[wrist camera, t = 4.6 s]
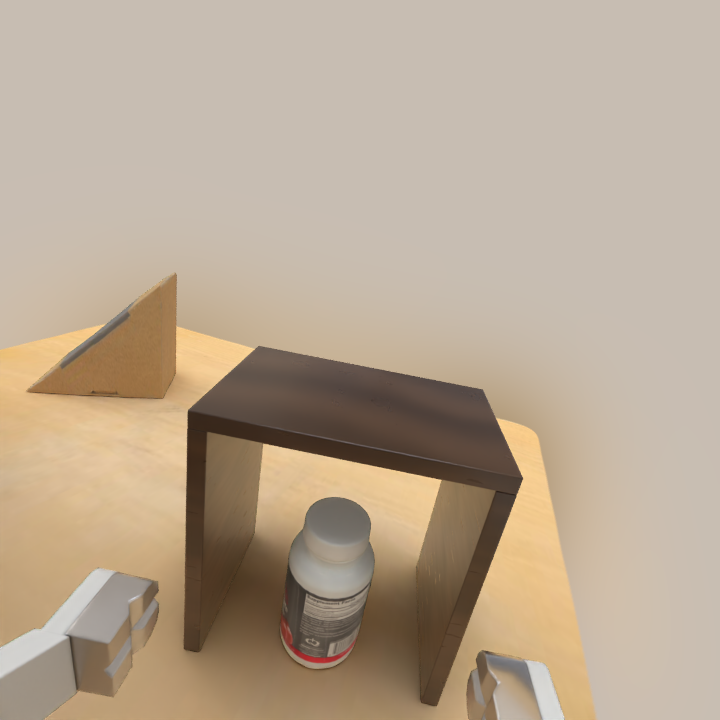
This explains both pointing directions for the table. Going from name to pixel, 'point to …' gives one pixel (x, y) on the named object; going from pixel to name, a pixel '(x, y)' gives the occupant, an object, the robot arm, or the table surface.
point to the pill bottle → (327, 583)
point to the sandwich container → (124, 352)
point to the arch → (357, 444)
